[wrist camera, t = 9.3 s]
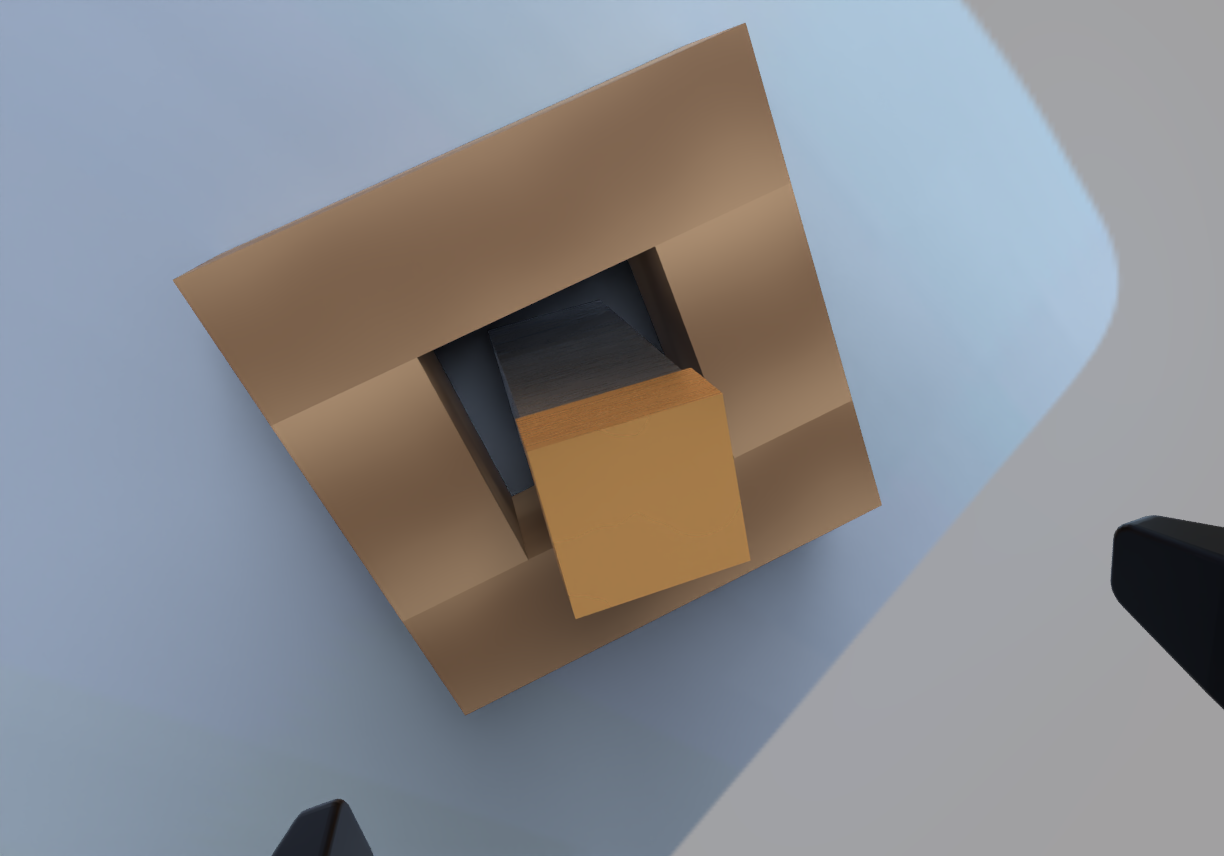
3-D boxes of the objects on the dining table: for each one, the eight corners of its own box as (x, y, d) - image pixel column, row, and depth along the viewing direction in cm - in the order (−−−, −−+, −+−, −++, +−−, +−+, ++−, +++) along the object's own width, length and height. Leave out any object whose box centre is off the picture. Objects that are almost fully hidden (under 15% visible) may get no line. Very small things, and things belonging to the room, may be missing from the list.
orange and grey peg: (602, 295, 20) (722, 393, 12) (627, 406, 21) (750, 560, 13) (483, 327, 19) (526, 451, 11) (516, 439, 20) (575, 618, 13)
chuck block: (817, 454, 23) (881, 504, 20) (458, 632, 22) (465, 715, 19) (687, 44, 18) (745, 22, 15) (218, 254, 17) (172, 279, 14)
